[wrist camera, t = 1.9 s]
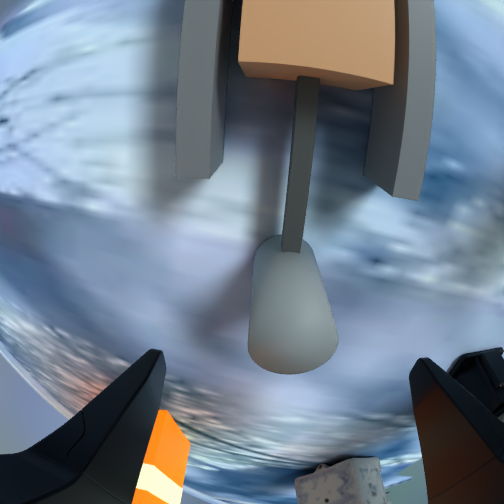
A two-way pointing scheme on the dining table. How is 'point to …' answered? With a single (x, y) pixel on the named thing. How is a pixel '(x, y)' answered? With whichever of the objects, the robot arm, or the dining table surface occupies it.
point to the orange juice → (163, 464)
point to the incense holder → (343, 483)
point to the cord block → (305, 157)
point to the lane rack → (383, 106)
